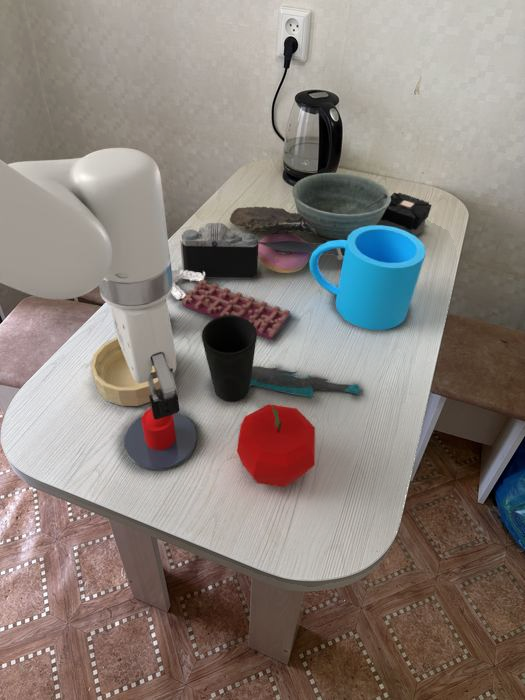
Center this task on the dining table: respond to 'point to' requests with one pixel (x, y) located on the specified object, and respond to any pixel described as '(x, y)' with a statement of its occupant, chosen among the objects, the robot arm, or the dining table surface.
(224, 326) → the cup
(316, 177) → the bowl
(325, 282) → the mug
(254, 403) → the dining table surface
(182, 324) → the dining table surface
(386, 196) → the screw
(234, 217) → the rock
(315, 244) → the knife
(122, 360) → the serving bowl
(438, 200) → the dining table surface
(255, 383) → the knife
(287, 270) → the doughnut
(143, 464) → the dark grey coaster
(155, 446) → the red cylinder
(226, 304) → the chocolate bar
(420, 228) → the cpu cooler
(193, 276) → the false teeth
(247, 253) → the camera
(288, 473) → the apple
